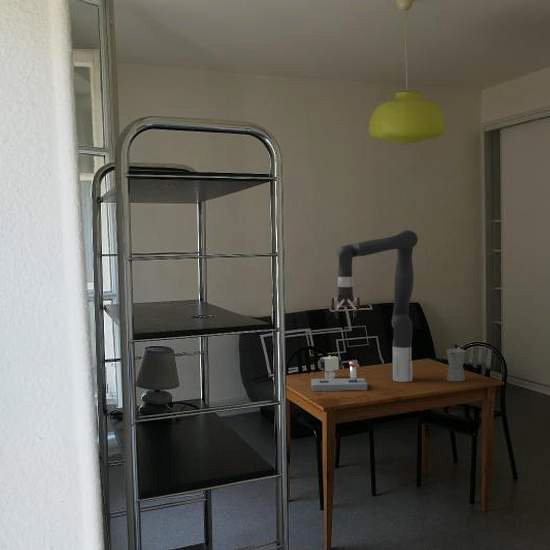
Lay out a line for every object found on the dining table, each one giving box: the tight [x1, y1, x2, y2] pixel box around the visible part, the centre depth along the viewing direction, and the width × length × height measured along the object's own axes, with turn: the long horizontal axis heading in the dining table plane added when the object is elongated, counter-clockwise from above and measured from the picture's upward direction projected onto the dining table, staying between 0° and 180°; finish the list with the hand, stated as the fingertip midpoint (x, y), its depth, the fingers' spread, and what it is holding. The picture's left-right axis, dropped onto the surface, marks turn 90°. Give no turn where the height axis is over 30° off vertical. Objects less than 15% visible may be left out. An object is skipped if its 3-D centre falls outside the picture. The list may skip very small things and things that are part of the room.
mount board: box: [310, 377, 368, 392], centre depth 302 cm, size 26×12×3 cm, turn 89°
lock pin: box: [348, 360, 358, 382], centre depth 301 cm, size 4×4×12 cm
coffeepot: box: [446, 344, 466, 382], centre depth 312 cm, size 15×9×18 cm, turn 147°
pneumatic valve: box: [317, 355, 343, 379], centre depth 320 cm, size 6×12×12 cm, turn 108°
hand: (345, 317), depth 312 cm, fingers open, 8 cm apart
